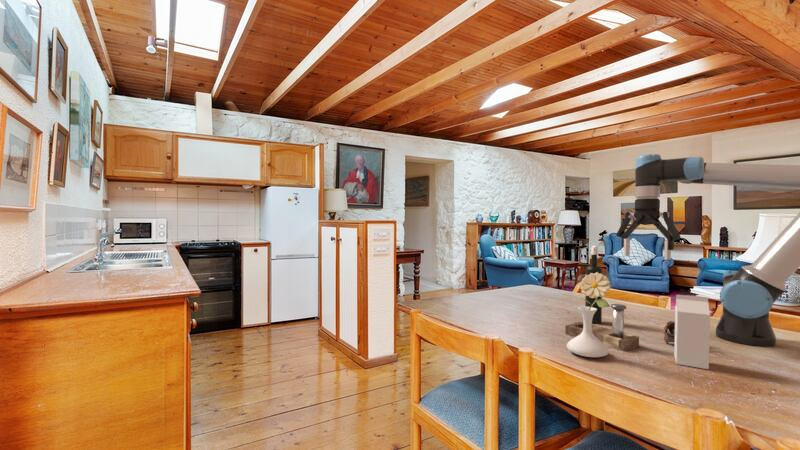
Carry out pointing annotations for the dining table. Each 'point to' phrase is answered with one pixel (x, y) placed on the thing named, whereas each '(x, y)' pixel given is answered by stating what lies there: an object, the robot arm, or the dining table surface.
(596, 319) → the wine bottle
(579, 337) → the flower in vase
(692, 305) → the milk carton
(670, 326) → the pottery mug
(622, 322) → the steel pin
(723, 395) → the dining table surface
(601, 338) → the wooden compartment tray
